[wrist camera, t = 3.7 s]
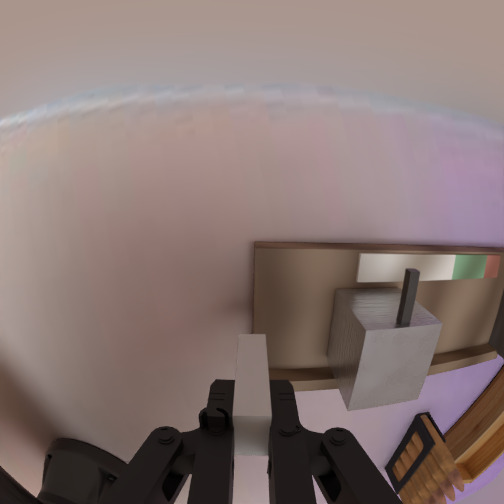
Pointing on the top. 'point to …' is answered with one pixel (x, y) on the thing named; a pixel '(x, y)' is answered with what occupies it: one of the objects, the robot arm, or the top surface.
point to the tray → (479, 432)
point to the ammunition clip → (424, 465)
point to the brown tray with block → (373, 276)
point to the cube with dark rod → (381, 344)
